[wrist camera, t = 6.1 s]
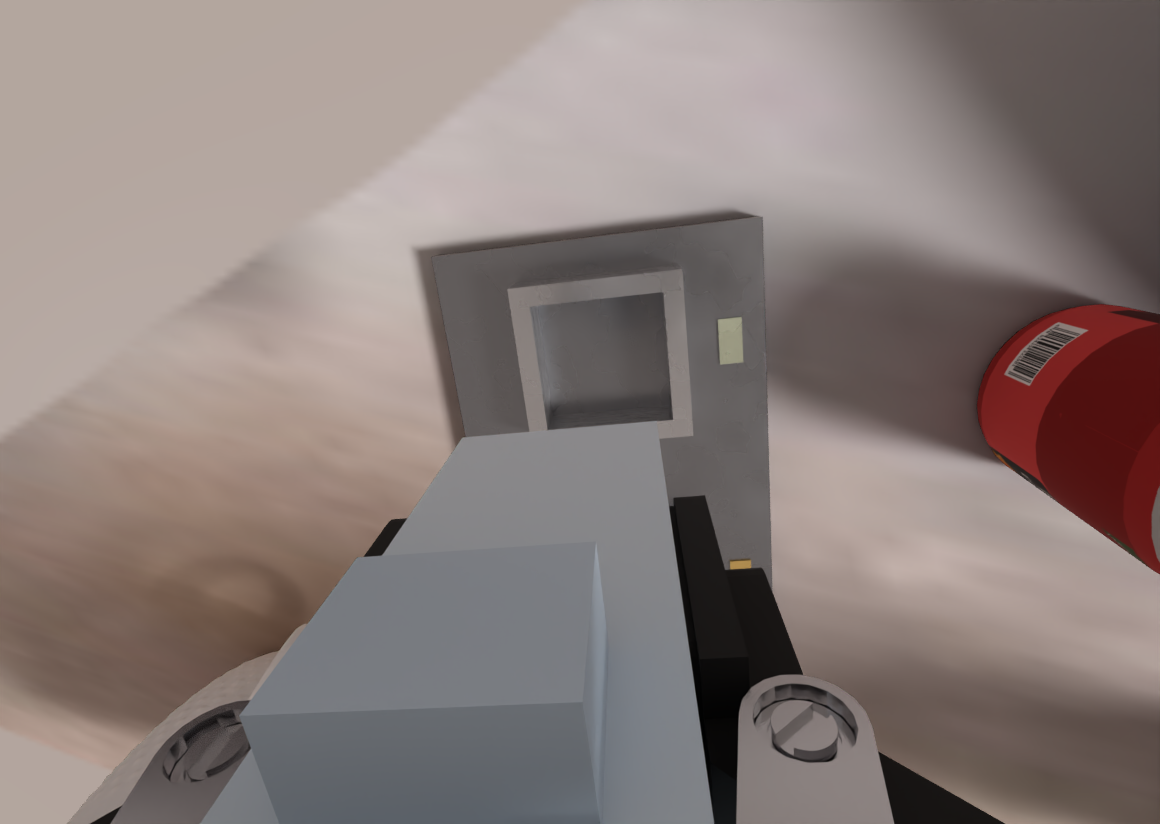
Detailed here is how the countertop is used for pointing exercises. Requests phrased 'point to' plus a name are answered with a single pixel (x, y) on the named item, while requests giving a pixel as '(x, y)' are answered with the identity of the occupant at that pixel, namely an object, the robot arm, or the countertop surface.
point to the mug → (218, 692)
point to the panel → (628, 354)
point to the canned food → (1084, 418)
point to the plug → (495, 656)
